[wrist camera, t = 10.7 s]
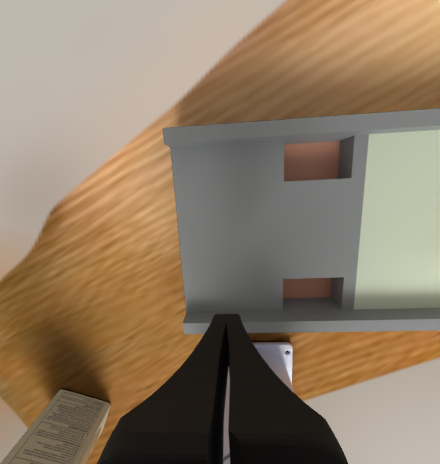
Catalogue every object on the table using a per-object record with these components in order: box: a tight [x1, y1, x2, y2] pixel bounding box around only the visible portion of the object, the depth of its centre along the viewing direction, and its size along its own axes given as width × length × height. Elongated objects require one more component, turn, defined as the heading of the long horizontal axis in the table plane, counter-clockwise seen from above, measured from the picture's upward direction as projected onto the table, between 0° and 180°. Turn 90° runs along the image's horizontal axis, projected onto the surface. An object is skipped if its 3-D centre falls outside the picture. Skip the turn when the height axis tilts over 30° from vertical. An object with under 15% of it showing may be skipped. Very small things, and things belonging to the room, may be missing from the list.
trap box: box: [163, 108, 440, 334], centre depth 17 cm, size 16×27×4 cm, turn 93°
